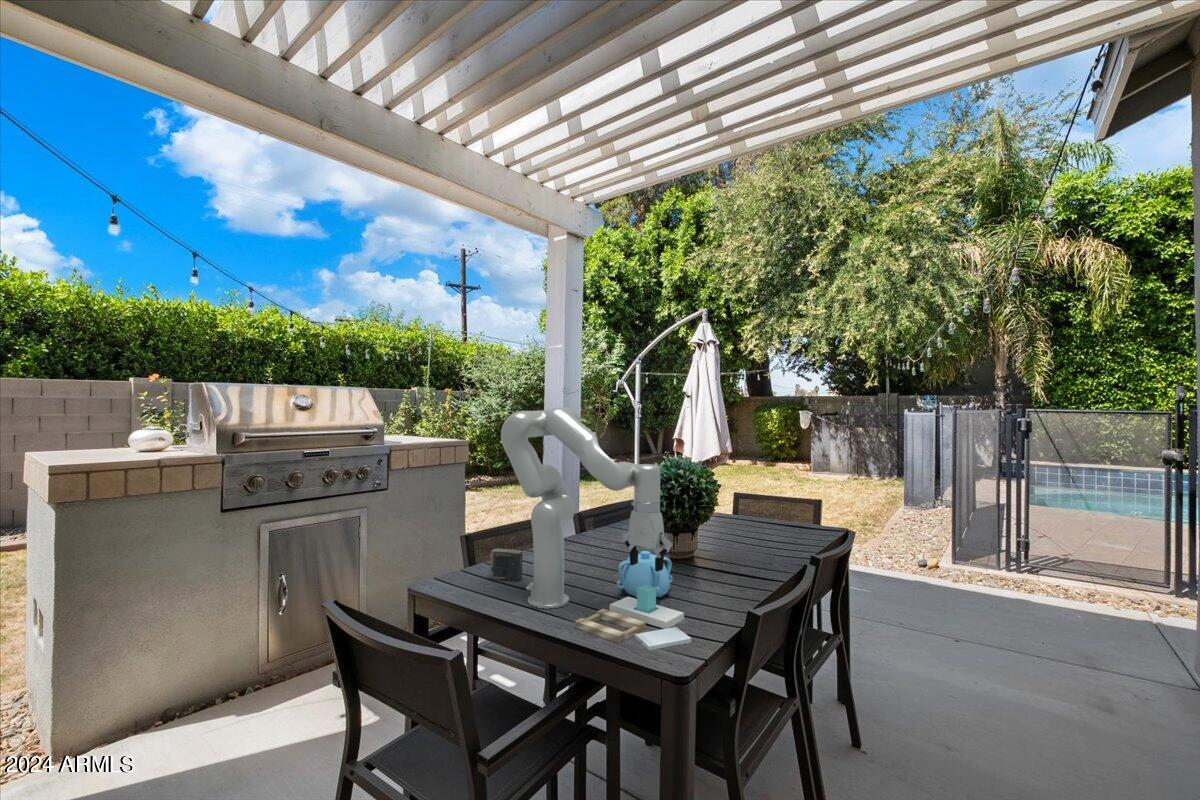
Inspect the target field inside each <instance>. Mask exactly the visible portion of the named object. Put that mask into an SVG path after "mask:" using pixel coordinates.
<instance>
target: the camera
mask: <svg viewBox="0 0 1200 800" xmlns="http://www.w3.org/2000/svg"><path fill="white" fill-rule="evenodd" d="M489 553H490V554H489V555H490V556H489V558H490V559H489V573H488V574H489V578H490V579H491V578H496V579H495V580H500V579H508V580H507V581H512V580H517V581H516V582H520V581H521V580H523V551H522V550H519V549H518V550H517V549H511V548H510V549H509V548H507V549H506V548H493V549H492V550H491V551H490V552H489ZM520 579H521V580H520Z"/></svg>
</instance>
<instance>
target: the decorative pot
mask: <svg viewBox="0 0 1200 800" xmlns="http://www.w3.org/2000/svg"><path fill="white" fill-rule="evenodd" d="M655 557H657V555H656V554H653V553H651V552H650V551H648V550H643V551H640V553H638V563H637V564H635V565H630V555H629V556H628V558H626V559H627V560H623V561H621V562H620V563H619V564H618V567H617V571H618V575H619V578H620V579H619V580H617V582H616V587H617V588H618V589H620V590H622V589H624V590H625V592H626V593H627V594H629V595H631V596H632V597H634V598H635V599H636V598H637V588H639V587H641V586H643V585H647V586H651V587H655V588H656V598H662V597H664V596H665V595H666V594H667V593H668V591H669V589H670V587H671V584H670V583H672V582H673V579H674V578H673V576H672V574H670V573H671V571H672V566H673V565H672V564H673V563H672V560H671V559H670V558H668V557H666V556H664V561H667V565H665V564H664V567H663V570H661V571H658V572H656V571H655ZM622 569H623V570H622ZM620 583H621V584H620ZM661 596H662V597H661Z"/></svg>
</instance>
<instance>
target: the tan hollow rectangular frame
mask: <svg viewBox="0 0 1200 800" xmlns="http://www.w3.org/2000/svg"><path fill="white" fill-rule="evenodd" d="M600 620H602V621H605V622H607V623H611V624H614V625H617V626H620V627H623V628H625V629H627V630H625V631H621V630H618V629H615V628H612V627H610V626H607V625H603V624H600V623H599V622H597V621H600ZM646 624H647V623H646V622H643V621H640V620H637V619H634V618H630V617H627V616H624V615H621V614H618V613H615V612H612V611H609V610H608V609H605V608H602V609H600V610H596V613H594V614H593V615H590V616H589V617H587V618H583V617H581V618H578V619H577V620H574V628H575V627H576V629H577V628H579V629H578V630H580V629H581V631H583V632H586V633H589V634H592V635H594V636H597V637H599V638H603V639H604V640H605V639H606V640H608V641H610V642H614V643H616V644H619V643H621V642H623V641H625V640H627V639H629V638H631V637H634V634H639V633H642V631H645V630H646Z"/></svg>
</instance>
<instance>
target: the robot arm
mask: <svg viewBox="0 0 1200 800" xmlns="http://www.w3.org/2000/svg"><path fill="white" fill-rule="evenodd" d="M500 430H501V431H500V438H501V439H500V440H501V444H502V447H503V448H504V449H503V450H504V451H505V453H506V455H507V458H508V459H509V462H510V464H511V467H512V469H513V471H514V473H515V476H516V478H517V480H518V483H519V484H520V487H521V489H522V492H523V493H524V495H526V496H527V497H529V498H533V499H535V498H541V499H542V500H541V501H539V502H538V503H536V504H535V505H534V507H533V508H532V511H531V514H530V522H531V523H530V524H531V530H532V540H533V541H532V543H533V548H532V549H533V550H532V551H533V553H532V554H533V556H532V557H533V559H532V564H533V565H532V567H533V568H532V572H533V573H532V574H533V575H532V576H533V577H532V581H531V582H529V583H528V585H527V586H526V588H525V589H526V591H529V592H530V595H529V596H528V598H527V604H528V603H529V604H528V605H529V606H531V605H532V606H531V607H533V606H534V607H533V608H536V607H537V608H538V609H543V608H544V609H547V610H549V609H550V608H551V609H557V608H558V609H559V608H562V607H564V606H566V605H568V604H569V602H570V597H569V595H567V594H566V593H565V539H564V537H565V536H564V534H563V526H564V525H566V524H567V523H569V522H571V520H572V519H573V517H574V516H575V504H574V501H573V499H572V496H571V494H570V492H569V490H568V487H567V485H566V482H565V481H564V479H563V477H562V475H561V473H560V472H559V470H558V469H557V468H556V467H555V466H552V465H550V464H542V462H541V460H540V459H539V456H538V453H537V452H536V449H535V448H534V447H533V445H532V444H531V442H530V441H529V438H536V437H544V436H545V437H546V436H554V437H555V438H556V439H557V440H558V441H559V442H561V443H562V444H563V445H564V446H565V447H566V448H568V449H569V450H570V451H571V452H573V454H575V456H576V457H578V459H579V461H580V463H581V464H582V465H583V467H584V468H585V469H586V470H587V472H588V473H589V474H590V475H591V476H592V477H593V478H594V479H596V481H598V482H599V483H600V484H601V485H602V486H604V487H605V488H606V489H609V490H611V491H613V492H619V491H622V490H623V491H624V489H628V488H630V487H634V488H633V501H631V503H630V504H631V506H633V510H631V512H630V516H629V521H628V522H629V523H628V531H626V532H624V533H623V534H622V536H621V537H622V538H623V540H624V544H625V545H626V547H627V551H628V552H629V556H630V565H635V564H637V563H638V554H639V550H638V548H642V549H647V550H653V551H654V553H655V555H656V556H657V557H655V571H656V572H658V571H661V570H663V567H664V565H665V563H664V562H665V560H664V557H666V555H667V554H668V553H669V551H670V550H671V548H672V547H673V543H672V542H671V541H670V540H669V539H668V538H667V537H666V536H665V529H664V528H665V526H664V520H663V514H662V512H661V469H660V466H659V465H657V464H649V463H643V464H642V463H641V464H640V463H633V462H628V461H622V462H621V461H620V462H615V461H614V460H613V459H612V458H611V457H609V456H608V454H606V453H605V452H604V451H603V449H602V448H601V447H600V444H599V440H598V436H597V434H596V433H595V432H593V431H592V430H591V429H589V427H587V426H586V425H585V423H583V422H582V421H581V416H580V414H579V412H578V411H577V410H575V409H574V408H572V407H567V406H566V407H563V406H562V407H561V406H560V407H554V408H551V409H543V410H521V411H515V412H513V413H511V414H510V415H509V416H508V417H507V418H505V421H504V423H502V427H501V429H500ZM663 547H664V548H663ZM537 608H536V609H537ZM544 609H543V610H544ZM551 609H550V610H551Z"/></svg>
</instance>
